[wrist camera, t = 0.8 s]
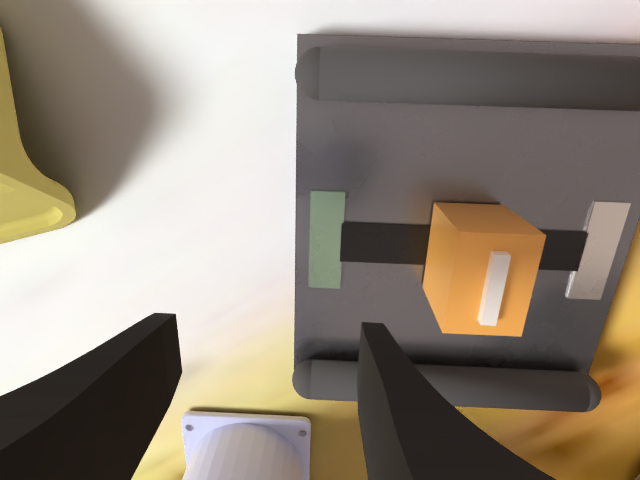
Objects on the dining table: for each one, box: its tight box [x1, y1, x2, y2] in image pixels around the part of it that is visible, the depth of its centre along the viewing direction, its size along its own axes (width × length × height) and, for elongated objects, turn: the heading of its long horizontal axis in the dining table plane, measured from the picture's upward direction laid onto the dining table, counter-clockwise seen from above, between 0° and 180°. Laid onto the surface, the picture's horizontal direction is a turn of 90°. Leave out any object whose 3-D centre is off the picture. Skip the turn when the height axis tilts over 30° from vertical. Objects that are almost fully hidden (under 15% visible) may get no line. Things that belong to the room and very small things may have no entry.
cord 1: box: [292, 359, 601, 412], centre depth 22 cm, size 2×16×2 cm, turn 88°
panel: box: [294, 34, 640, 375], centre depth 20 cm, size 18×16×1 cm
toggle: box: [423, 202, 546, 337], centre depth 18 cm, size 4×3×4 cm
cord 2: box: [295, 46, 640, 111], centre depth 16 cm, size 2×16×2 cm, turn 89°
